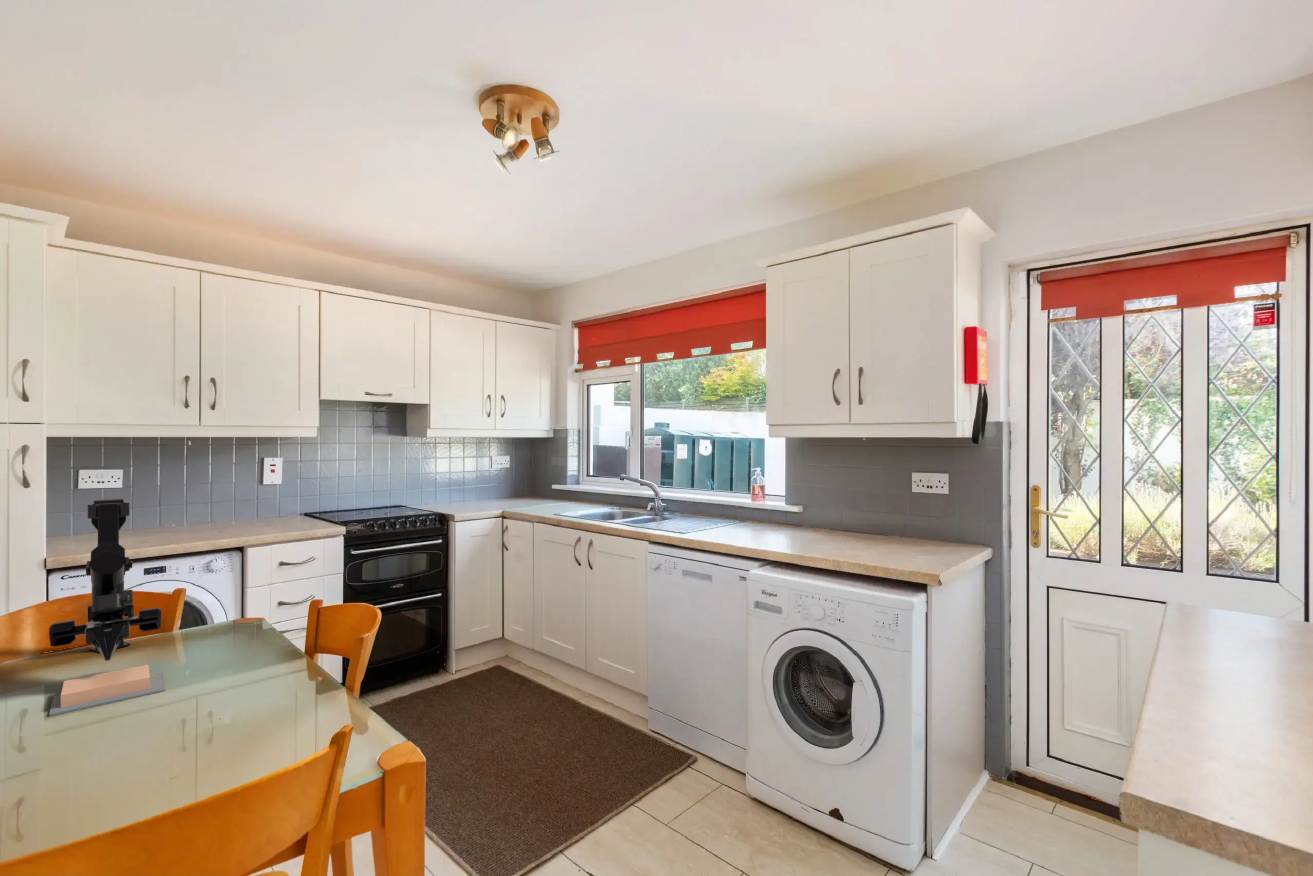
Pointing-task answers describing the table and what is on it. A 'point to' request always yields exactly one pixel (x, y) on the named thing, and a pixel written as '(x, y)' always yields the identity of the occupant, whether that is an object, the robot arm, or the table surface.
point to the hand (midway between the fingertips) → (107, 659)
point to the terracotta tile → (105, 685)
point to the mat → (155, 687)
